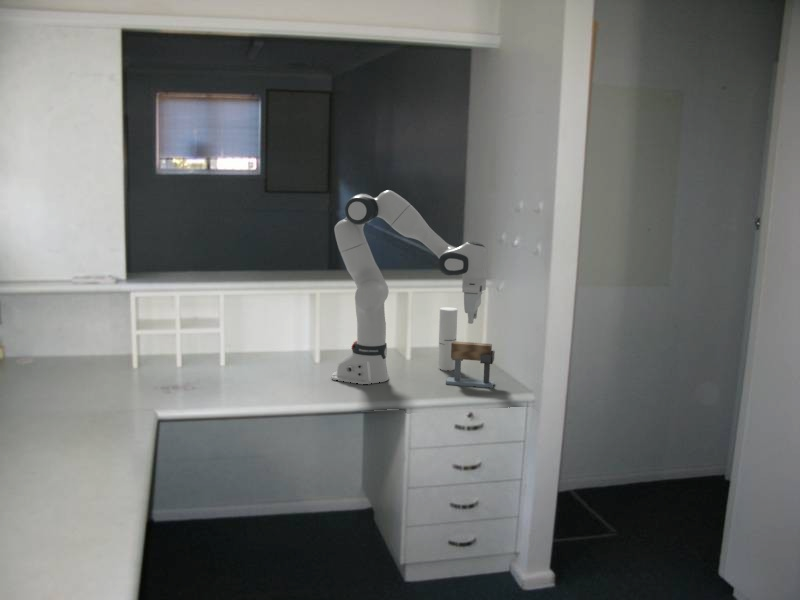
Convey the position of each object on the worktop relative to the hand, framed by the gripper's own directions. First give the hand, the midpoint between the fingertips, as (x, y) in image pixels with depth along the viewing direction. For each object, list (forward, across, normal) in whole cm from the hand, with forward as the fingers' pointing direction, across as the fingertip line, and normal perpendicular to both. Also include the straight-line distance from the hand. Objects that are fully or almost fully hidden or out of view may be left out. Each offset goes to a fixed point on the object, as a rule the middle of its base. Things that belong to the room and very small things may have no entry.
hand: (472, 320), depth 303 cm
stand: (+25, 0, 0) cm, 25 cm away
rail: (+15, 0, 0) cm, 15 cm away
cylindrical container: (+25, -20, -12) cm, 34 cm away
